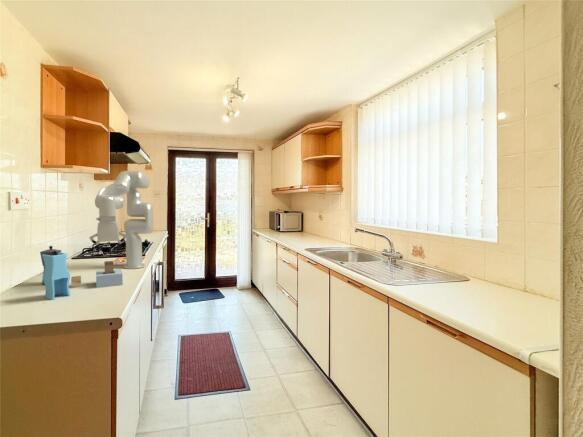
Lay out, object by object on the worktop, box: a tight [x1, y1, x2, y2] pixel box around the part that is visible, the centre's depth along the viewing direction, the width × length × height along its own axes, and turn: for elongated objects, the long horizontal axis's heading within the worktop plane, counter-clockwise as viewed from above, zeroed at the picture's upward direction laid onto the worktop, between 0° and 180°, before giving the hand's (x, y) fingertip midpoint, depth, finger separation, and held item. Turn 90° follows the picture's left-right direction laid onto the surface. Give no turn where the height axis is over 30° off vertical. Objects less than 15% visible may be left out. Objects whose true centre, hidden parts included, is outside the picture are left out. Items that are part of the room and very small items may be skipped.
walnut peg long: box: [103, 260, 115, 274], centre depth 182 cm, size 4×4×12 cm
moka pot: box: [39, 245, 62, 285], centre depth 181 cm, size 10×15×20 cm, turn 55°
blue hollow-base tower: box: [42, 251, 71, 301], centre depth 158 cm, size 8×8×20 cm
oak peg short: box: [70, 275, 82, 289], centre depth 176 cm, size 4×4×5 cm
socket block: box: [95, 268, 124, 289], centre depth 182 cm, size 12×12×6 cm
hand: (108, 251), depth 182 cm, fingers open, 9 cm apart
